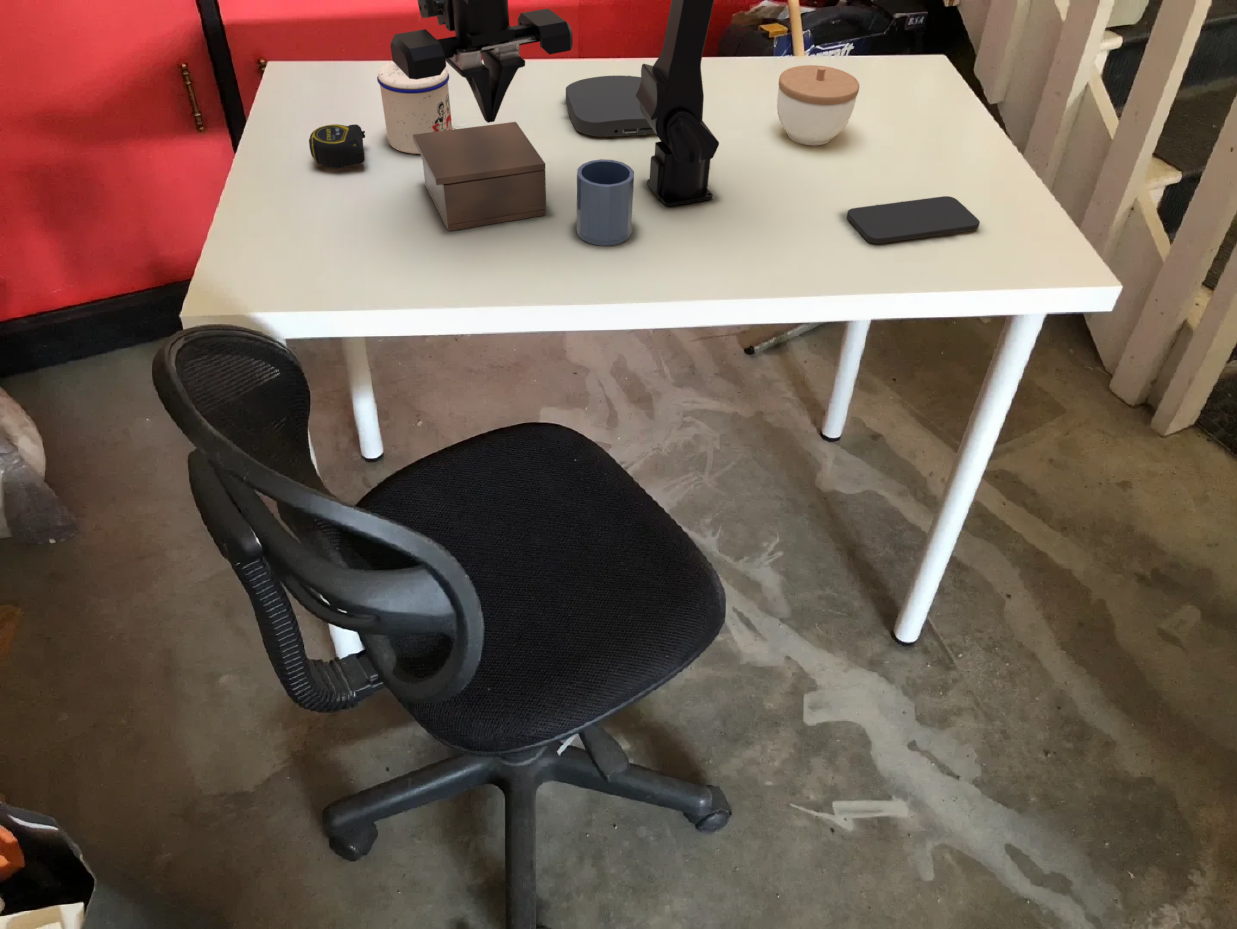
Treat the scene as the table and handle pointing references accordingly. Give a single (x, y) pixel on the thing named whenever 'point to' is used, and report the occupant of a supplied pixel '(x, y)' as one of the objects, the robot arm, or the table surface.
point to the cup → (604, 202)
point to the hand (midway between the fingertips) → (489, 120)
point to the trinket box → (815, 102)
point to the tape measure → (337, 145)
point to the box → (489, 199)
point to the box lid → (477, 153)
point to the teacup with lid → (413, 106)
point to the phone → (912, 219)
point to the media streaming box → (607, 106)
